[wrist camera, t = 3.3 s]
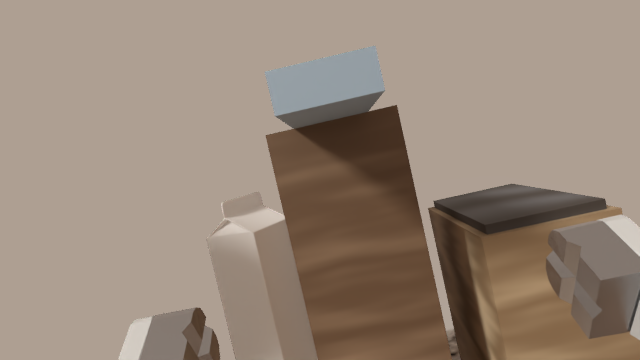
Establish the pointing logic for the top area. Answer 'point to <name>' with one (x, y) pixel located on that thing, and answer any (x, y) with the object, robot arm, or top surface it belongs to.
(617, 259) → the robot arm
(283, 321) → the milk
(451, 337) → the top surface
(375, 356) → the stand
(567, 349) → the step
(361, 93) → the slat
